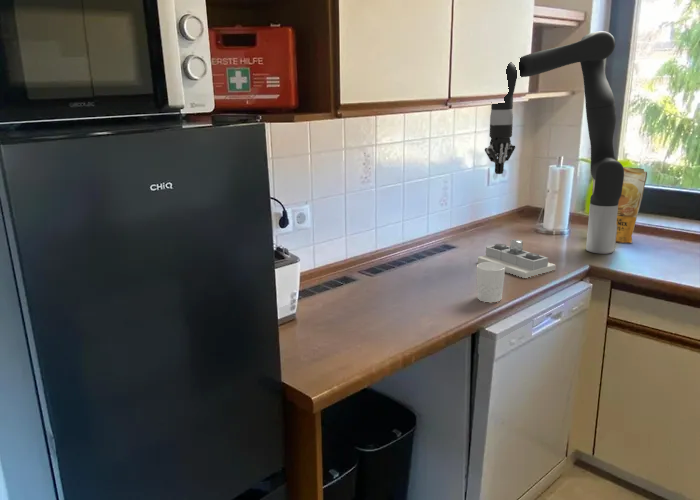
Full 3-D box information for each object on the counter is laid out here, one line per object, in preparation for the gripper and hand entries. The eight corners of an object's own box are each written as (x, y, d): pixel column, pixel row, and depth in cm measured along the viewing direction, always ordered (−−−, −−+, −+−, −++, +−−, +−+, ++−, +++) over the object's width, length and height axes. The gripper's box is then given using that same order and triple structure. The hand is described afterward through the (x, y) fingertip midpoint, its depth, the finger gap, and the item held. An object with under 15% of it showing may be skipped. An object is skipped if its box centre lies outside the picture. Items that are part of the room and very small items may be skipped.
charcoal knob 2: (531, 262, 189) (532, 252, 188) (541, 265, 186) (541, 255, 185) (523, 264, 187) (523, 254, 186) (532, 267, 184) (533, 257, 183)
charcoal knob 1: (499, 252, 201) (500, 243, 200) (508, 255, 198) (509, 245, 197) (491, 254, 199) (492, 245, 198) (500, 257, 196) (500, 247, 195)
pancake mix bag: (590, 233, 231) (597, 163, 223) (640, 241, 218) (648, 167, 210) (583, 236, 227) (589, 165, 219) (633, 245, 214) (641, 170, 206)
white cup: (498, 306, 160) (500, 272, 157) (471, 301, 164) (472, 268, 161) (507, 297, 166) (508, 264, 164) (480, 292, 170) (482, 260, 168)
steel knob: (515, 248, 194) (516, 238, 193) (524, 251, 191) (525, 241, 190) (507, 250, 192) (507, 240, 191) (516, 253, 189) (517, 243, 188)
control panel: (506, 255, 205) (507, 242, 204) (555, 270, 188) (556, 255, 187) (477, 262, 198) (478, 248, 197) (525, 278, 181) (526, 263, 180)
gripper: (506, 121, 202) (504, 170, 207) (479, 123, 195) (477, 174, 200) (523, 122, 196) (520, 173, 201) (495, 124, 189) (493, 177, 194)
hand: (498, 173), depth 200 cm, fingers closed
